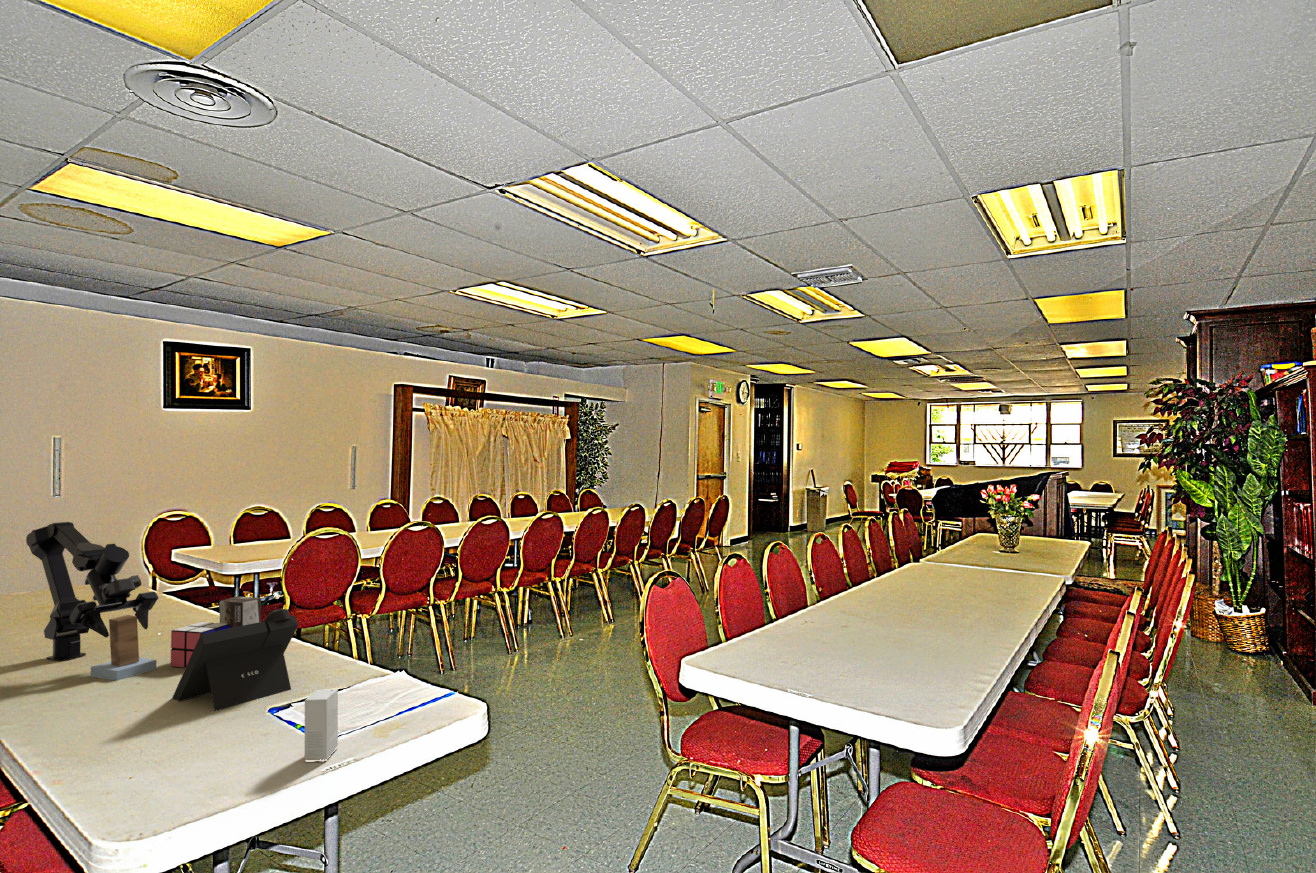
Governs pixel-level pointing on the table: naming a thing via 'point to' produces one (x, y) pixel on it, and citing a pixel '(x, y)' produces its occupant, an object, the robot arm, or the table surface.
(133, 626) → the walnut post
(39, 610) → the table surface
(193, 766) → the table surface
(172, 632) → the puzzle cube
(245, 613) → the coffee box
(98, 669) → the blue block
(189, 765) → the table surface
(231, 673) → the office phone
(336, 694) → the skincare box
